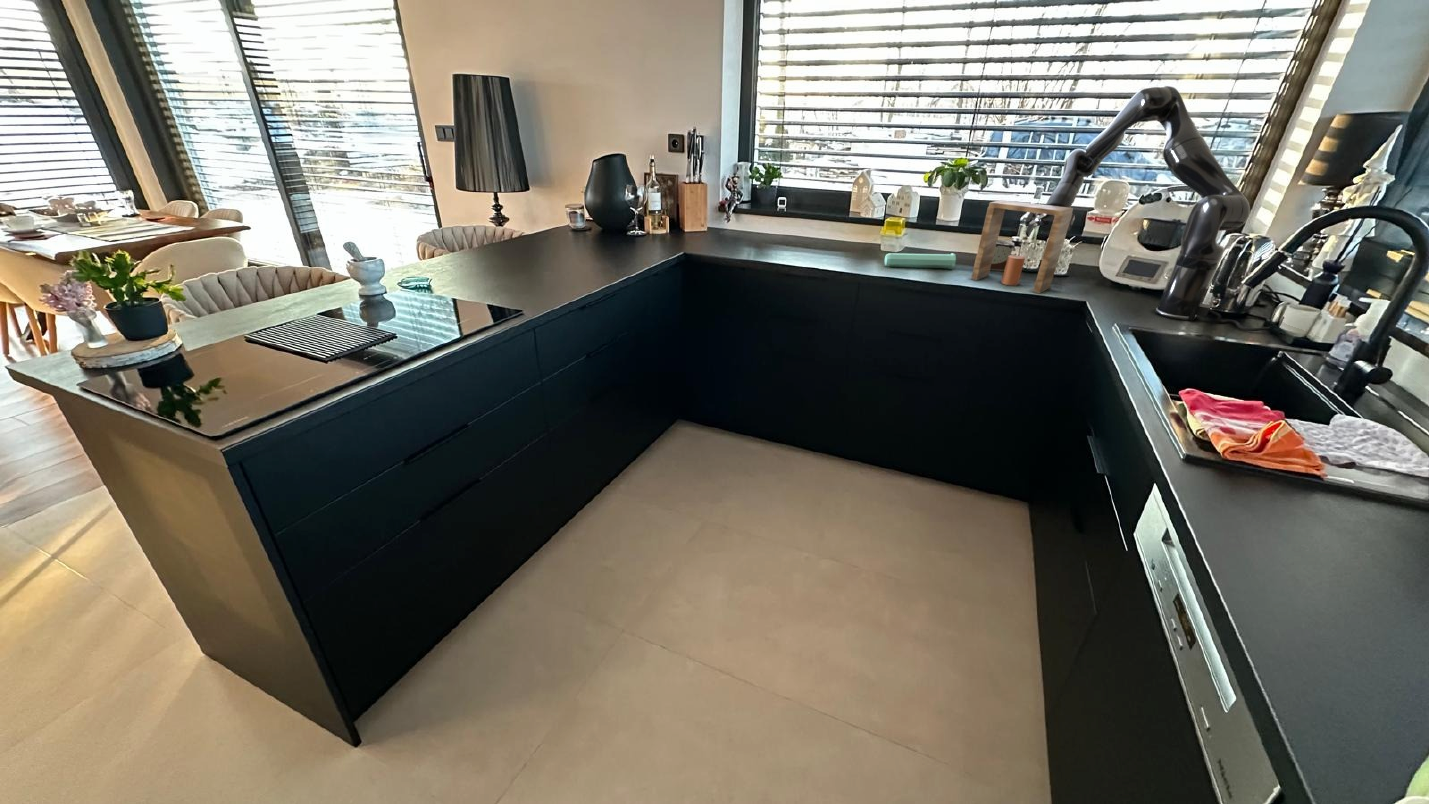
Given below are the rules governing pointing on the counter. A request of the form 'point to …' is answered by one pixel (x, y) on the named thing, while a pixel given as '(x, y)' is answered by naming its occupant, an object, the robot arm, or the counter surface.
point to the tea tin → (1013, 270)
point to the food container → (1001, 254)
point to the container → (920, 260)
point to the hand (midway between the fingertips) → (1040, 237)
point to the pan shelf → (1052, 247)
